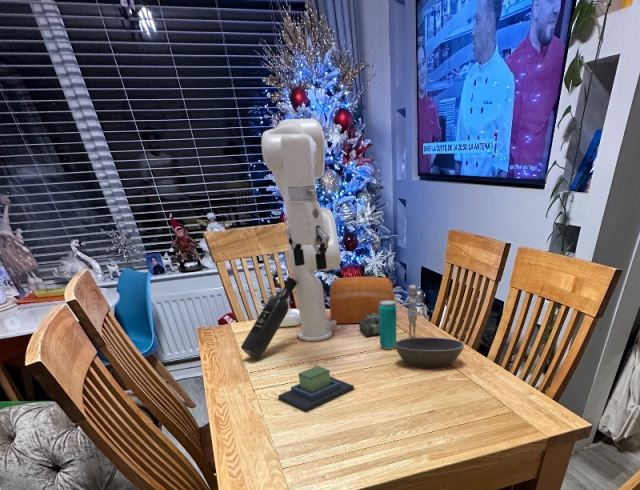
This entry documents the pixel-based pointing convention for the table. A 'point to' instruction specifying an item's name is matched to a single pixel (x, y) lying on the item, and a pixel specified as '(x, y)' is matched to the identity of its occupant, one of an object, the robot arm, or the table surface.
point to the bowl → (429, 351)
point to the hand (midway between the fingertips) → (310, 267)
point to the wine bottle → (268, 322)
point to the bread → (358, 297)
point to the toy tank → (370, 325)
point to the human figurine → (412, 308)
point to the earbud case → (291, 318)
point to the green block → (314, 379)
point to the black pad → (315, 395)
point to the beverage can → (387, 324)
